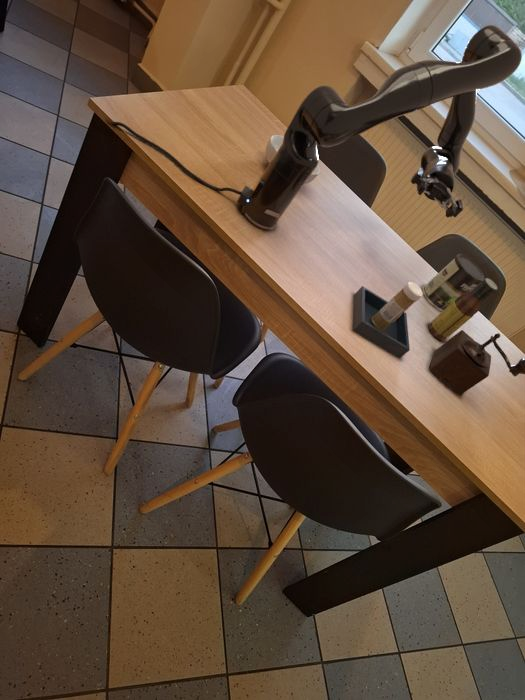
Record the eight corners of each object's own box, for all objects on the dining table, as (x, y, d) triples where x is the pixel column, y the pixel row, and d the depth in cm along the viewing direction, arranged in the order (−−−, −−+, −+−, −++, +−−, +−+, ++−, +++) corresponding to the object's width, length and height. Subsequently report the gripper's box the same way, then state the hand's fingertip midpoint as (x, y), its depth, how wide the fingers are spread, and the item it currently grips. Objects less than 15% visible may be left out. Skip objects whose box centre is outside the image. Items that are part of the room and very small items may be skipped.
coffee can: (453, 313, 150) (490, 282, 141) (433, 311, 144) (471, 279, 135) (435, 287, 155) (470, 255, 146) (416, 284, 148) (451, 251, 139)
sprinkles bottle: (387, 330, 122) (426, 295, 114) (377, 332, 119) (416, 296, 111) (377, 316, 124) (415, 280, 115) (367, 317, 121) (405, 281, 112)
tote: (352, 330, 115) (362, 321, 113) (353, 294, 125) (362, 285, 123) (399, 358, 119) (409, 350, 116) (397, 321, 129) (406, 313, 126)
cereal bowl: (314, 187, 152) (328, 168, 147) (292, 199, 139) (306, 179, 135) (274, 150, 153) (286, 130, 148) (248, 158, 140) (261, 137, 135)
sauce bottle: (444, 332, 139) (502, 286, 127) (444, 345, 135) (504, 298, 122) (426, 319, 138) (482, 271, 126) (426, 331, 134) (484, 283, 121)
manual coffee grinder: (427, 371, 122) (485, 326, 110) (434, 349, 130) (489, 306, 119) (474, 412, 122) (537, 373, 110) (478, 388, 130) (537, 349, 119)
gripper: (427, 151, 124) (424, 170, 112) (470, 186, 126) (471, 209, 114) (407, 175, 129) (401, 196, 117) (448, 208, 131) (447, 233, 118)
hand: (436, 202), depth 115 cm, fingers open, 8 cm apart
